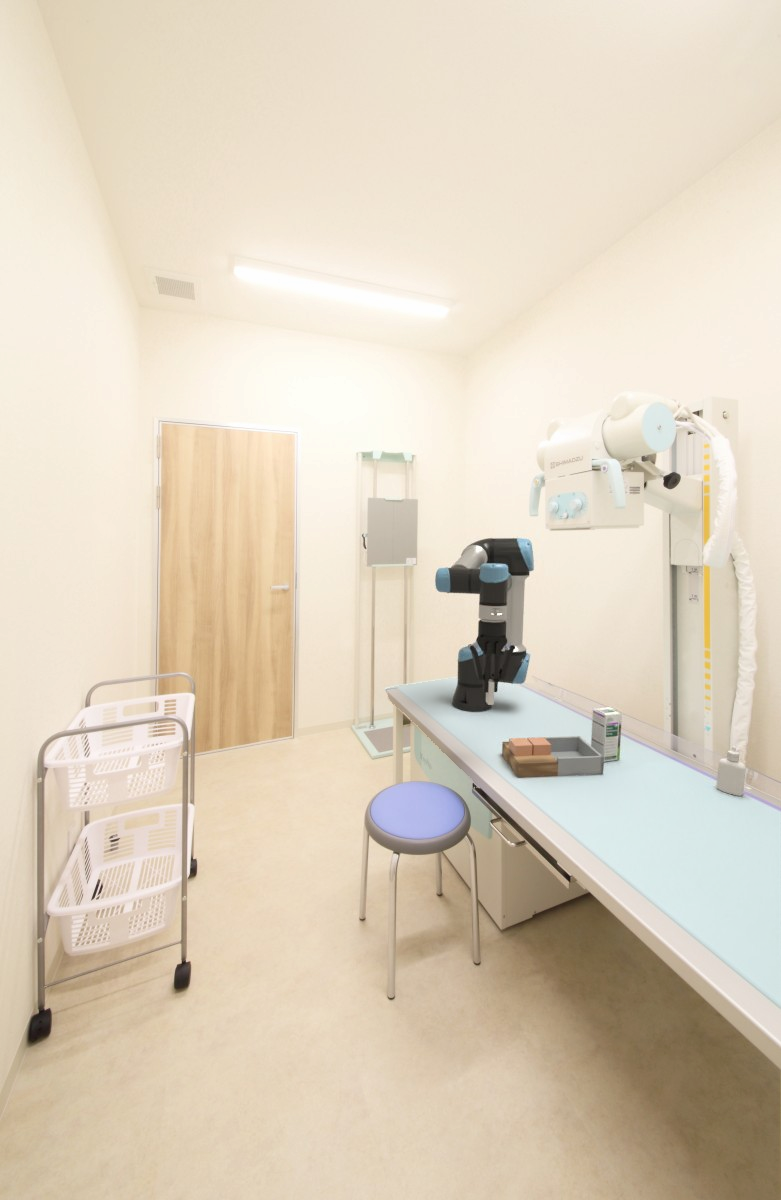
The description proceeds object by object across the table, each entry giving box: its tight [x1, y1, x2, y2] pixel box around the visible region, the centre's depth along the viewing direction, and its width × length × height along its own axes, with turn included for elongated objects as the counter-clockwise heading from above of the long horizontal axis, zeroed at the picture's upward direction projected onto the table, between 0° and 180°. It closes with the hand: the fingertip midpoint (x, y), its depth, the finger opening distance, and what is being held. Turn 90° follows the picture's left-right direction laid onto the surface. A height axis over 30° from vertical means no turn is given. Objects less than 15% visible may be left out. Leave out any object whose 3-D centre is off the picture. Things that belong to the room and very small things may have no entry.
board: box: [501, 741, 559, 779], centre depth 135 cm, size 14×11×4 cm
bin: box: [544, 735, 605, 777], centre depth 136 cm, size 14×13×5 cm
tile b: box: [526, 736, 551, 755], centre depth 135 cm, size 5×5×3 cm
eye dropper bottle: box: [715, 745, 747, 797], centre depth 121 cm, size 4×6×12 cm
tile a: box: [508, 737, 533, 756], centre depth 135 cm, size 5×5×3 cm
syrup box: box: [590, 706, 623, 763], centre depth 140 cm, size 6×6×14 cm
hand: (489, 703), depth 132 cm, fingers closed
